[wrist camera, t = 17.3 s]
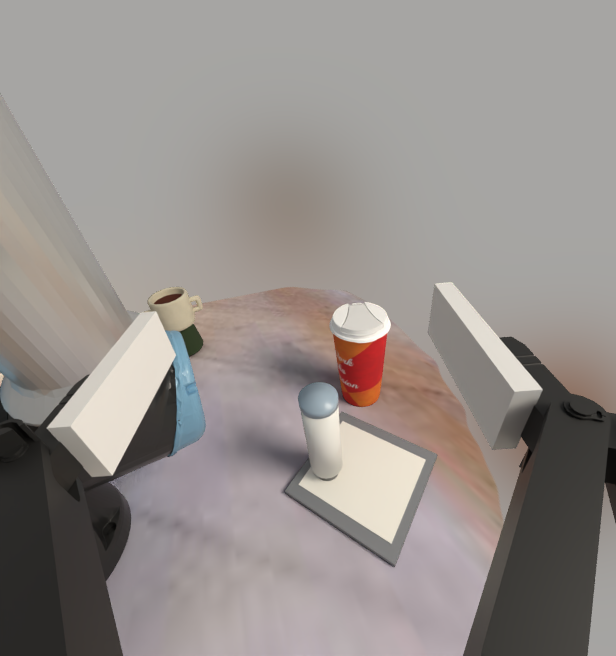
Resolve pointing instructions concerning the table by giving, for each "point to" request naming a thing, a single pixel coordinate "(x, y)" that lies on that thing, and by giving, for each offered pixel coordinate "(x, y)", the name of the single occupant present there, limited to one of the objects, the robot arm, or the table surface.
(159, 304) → the character mug
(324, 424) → the thick grey marker
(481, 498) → the table surface
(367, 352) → the coffee cup
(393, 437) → the writing board
